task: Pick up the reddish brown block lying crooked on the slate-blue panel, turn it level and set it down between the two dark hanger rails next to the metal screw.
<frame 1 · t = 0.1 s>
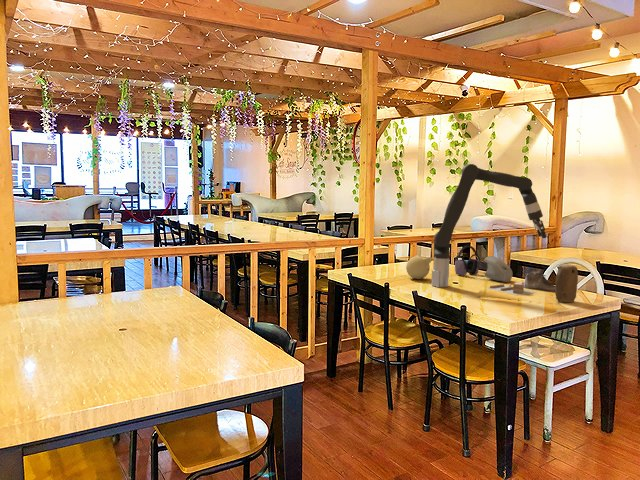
hand: (542, 237, 302), 31 cm above the table, tool tilted 20°, fingers open, 8 cm apart
headphones: (466, 275, 354), on the table
reddish brown block: (518, 292, 293), point 1 cm above the table, touching panel
shoe: (546, 293, 300), on the table
toy: (417, 279, 337), on the table
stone: (565, 302, 277), on the table
panel: (510, 292, 298), on the table
decorative stone: (498, 280, 335), on the table
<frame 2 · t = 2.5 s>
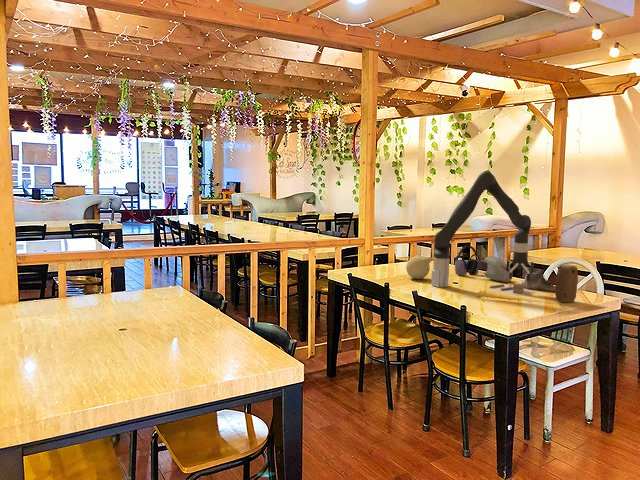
hand: (519, 279, 293), 9 cm above the table, tool pointing down, fingers open, 8 cm apart
shoe: (545, 293, 299), on the table
everything else where it was.
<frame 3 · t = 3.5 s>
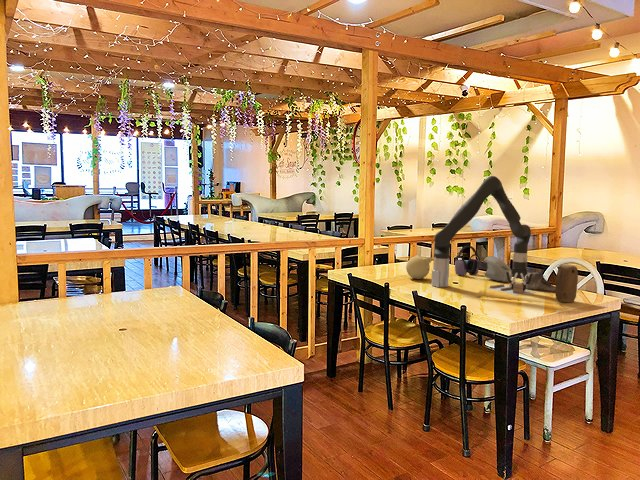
hand: (518, 290, 293), 2 cm above the table, tool pointing down, fingers closed on reddish brown block, 5 cm apart
reddish brown block: (518, 292, 293), point 1 cm above the table, touching gripper, panel
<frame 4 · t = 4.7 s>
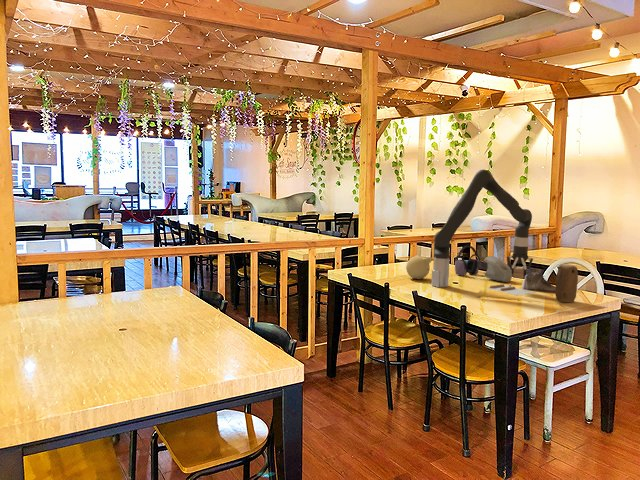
hand: (518, 275, 292), 11 cm above the table, tool pointing down, fingers closed on reddish brown block, 5 cm apart
reddish brown block: (518, 276, 292), point 10 cm above the table, touching gripper
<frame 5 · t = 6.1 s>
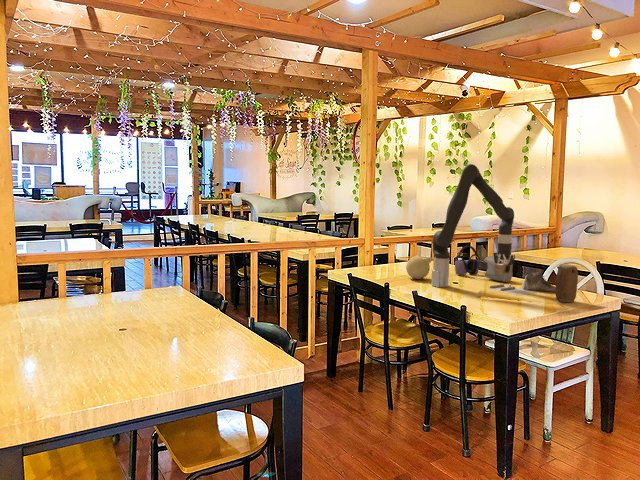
hand: (503, 271, 302), 12 cm above the table, tool pointing down, fingers closed on reddish brown block, 5 cm apart
reddish brown block: (503, 272, 302), point 11 cm above the table, touching gripper
when the fingers open (4 cm above the table, at t = 8.0 s): reddish brown block drops 1 cm, resting on panel.
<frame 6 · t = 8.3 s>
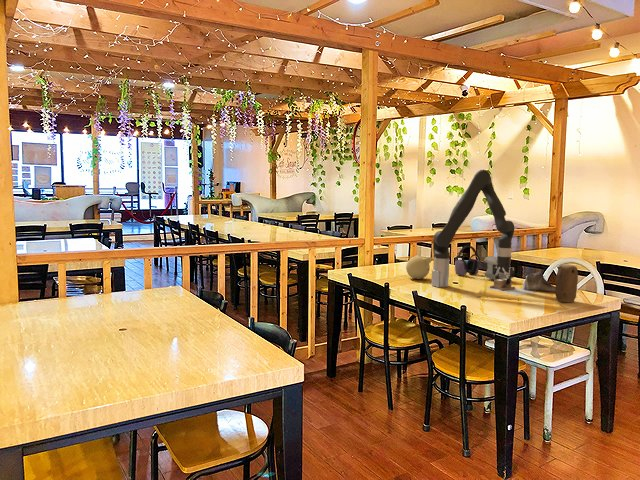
hand: (502, 283, 302), 4 cm above the table, tool pointing down, fingers open, 7 cm apart
reddish brown block: (502, 288, 303), point 1 cm above the table, touching panel
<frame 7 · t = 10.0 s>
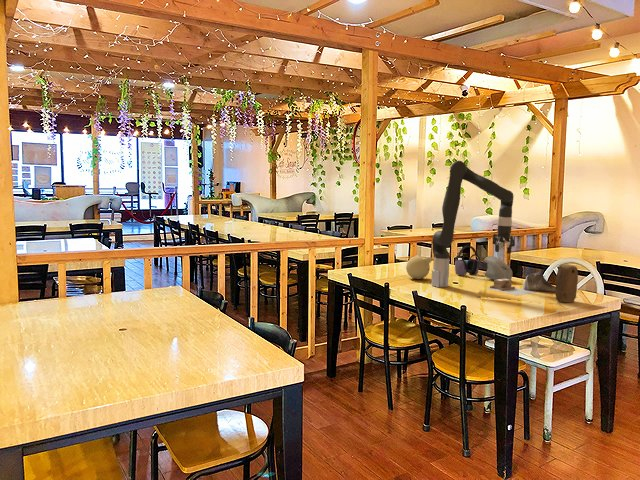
hand: (502, 252, 303), 22 cm above the table, tool pointing down, fingers open, 8 cm apart
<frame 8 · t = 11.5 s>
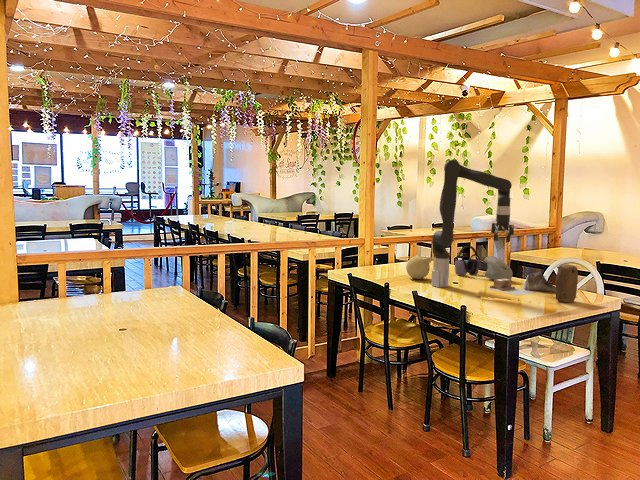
hand: (501, 241, 306), 28 cm above the table, tool pointing down, fingers open, 8 cm apart
at the end: reddish brown block 0.0 cm from the target spot on the panel, point 1.5 cm above the panel's base; reddish brown block tilted 0°; the gripper is holding nothing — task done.
